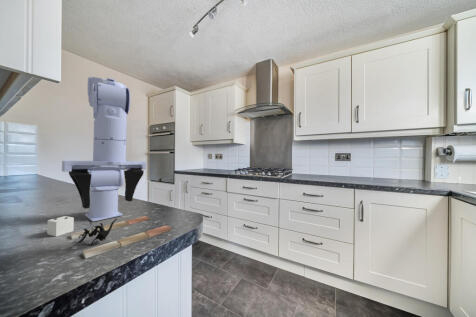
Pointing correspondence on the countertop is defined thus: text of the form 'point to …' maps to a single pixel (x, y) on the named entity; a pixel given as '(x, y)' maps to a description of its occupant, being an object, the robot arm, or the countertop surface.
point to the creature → (101, 233)
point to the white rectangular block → (60, 226)
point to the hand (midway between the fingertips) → (109, 203)
